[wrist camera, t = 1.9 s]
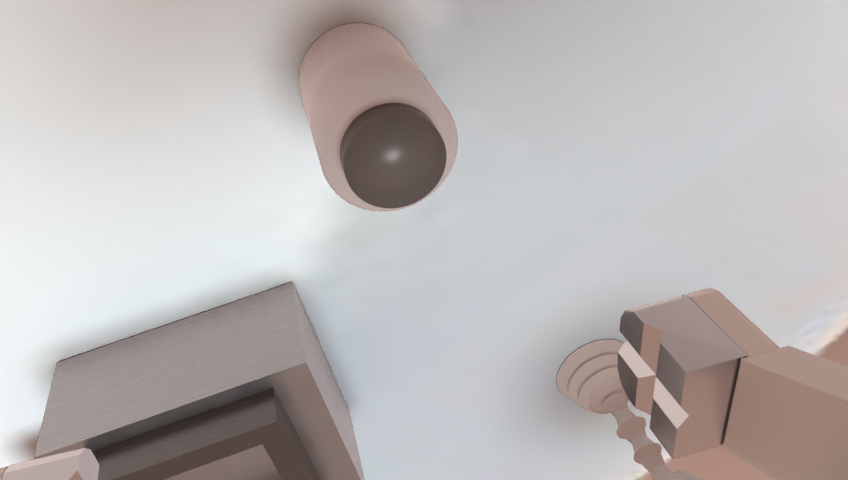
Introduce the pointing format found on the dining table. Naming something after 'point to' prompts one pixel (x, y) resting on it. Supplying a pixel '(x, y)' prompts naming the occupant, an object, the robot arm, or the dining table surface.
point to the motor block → (208, 400)
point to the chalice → (612, 401)
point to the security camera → (375, 119)
